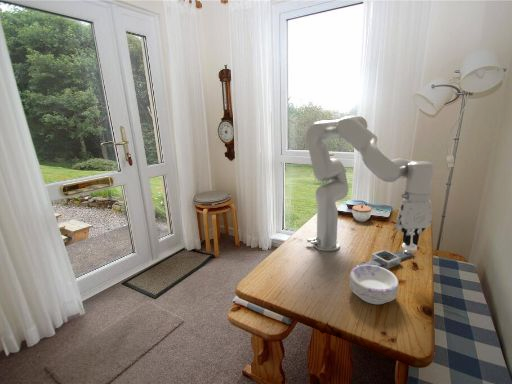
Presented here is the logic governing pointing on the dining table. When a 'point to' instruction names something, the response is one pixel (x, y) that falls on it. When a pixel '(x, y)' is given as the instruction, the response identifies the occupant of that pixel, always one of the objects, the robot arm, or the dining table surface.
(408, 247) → the chess piece
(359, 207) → the lidded jar
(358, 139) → the robot arm
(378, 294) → the paper bowls
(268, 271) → the dining table surface
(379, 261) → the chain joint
